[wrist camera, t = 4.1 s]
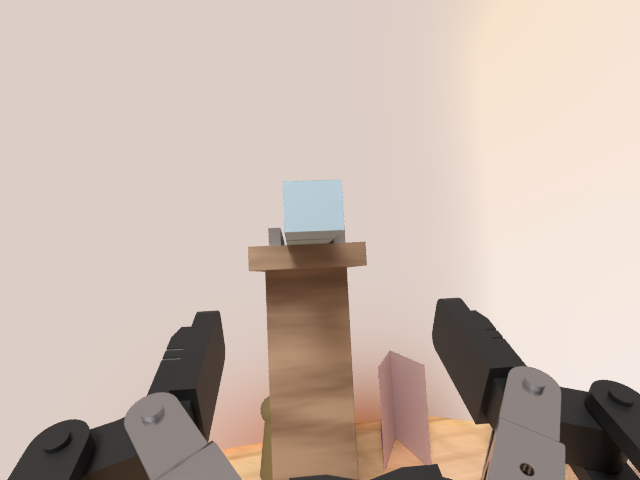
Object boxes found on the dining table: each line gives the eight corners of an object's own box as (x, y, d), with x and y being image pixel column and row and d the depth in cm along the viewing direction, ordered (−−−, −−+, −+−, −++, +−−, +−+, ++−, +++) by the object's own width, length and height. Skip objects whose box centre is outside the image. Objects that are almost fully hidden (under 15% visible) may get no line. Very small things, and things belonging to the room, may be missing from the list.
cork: (307, 476, 53) (303, 398, 54) (267, 489, 51) (264, 407, 52) (291, 458, 59) (289, 388, 60) (255, 469, 56) (252, 395, 57)
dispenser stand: (264, 517, 45) (255, 245, 48) (361, 507, 46) (346, 241, 49) (246, 679, 27) (233, 228, 30) (405, 657, 28) (378, 222, 31)
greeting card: (390, 437, 65) (385, 350, 66) (434, 441, 62) (427, 351, 64) (378, 471, 54) (372, 366, 55) (431, 478, 51) (423, 368, 53)
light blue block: (288, 253, 45) (287, 229, 45) (317, 252, 45) (316, 228, 46) (284, 232, 21) (282, 181, 21) (344, 230, 21) (341, 179, 22)
